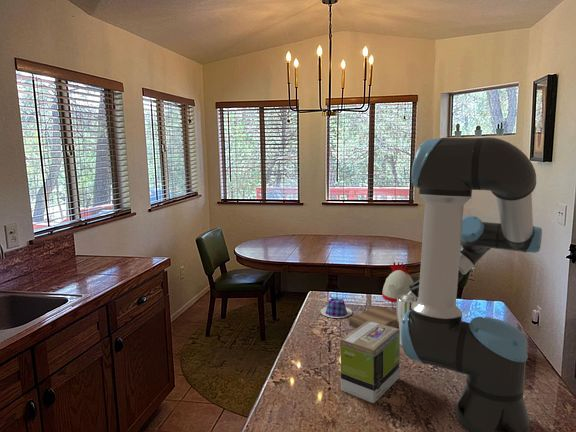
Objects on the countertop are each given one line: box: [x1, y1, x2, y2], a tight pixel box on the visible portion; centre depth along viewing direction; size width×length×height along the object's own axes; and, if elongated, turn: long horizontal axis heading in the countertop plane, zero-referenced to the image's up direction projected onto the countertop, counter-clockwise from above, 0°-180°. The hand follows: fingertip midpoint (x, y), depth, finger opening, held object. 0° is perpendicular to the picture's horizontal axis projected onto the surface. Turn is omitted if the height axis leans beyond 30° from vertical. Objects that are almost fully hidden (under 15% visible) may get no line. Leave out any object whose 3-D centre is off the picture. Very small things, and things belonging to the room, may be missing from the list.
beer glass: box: [395, 295, 418, 346], centre depth 135 cm, size 7×7×15 cm
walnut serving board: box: [348, 305, 398, 329], centre depth 150 cm, size 16×12×3 cm
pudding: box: [320, 297, 353, 319], centre depth 161 cm, size 12×12×5 cm
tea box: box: [340, 321, 401, 404], centre depth 111 cm, size 15×10×15 cm, turn 141°
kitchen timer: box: [381, 261, 415, 304], centre depth 176 cm, size 14×14×15 cm
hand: (409, 315), depth 136 cm, fingers open, 13 cm apart
